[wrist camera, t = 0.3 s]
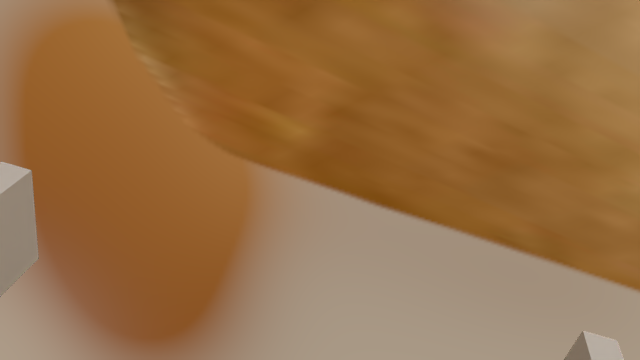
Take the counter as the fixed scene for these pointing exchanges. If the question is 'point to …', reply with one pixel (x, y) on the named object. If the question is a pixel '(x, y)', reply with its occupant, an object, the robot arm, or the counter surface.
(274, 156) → the counter surface
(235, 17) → the counter surface
